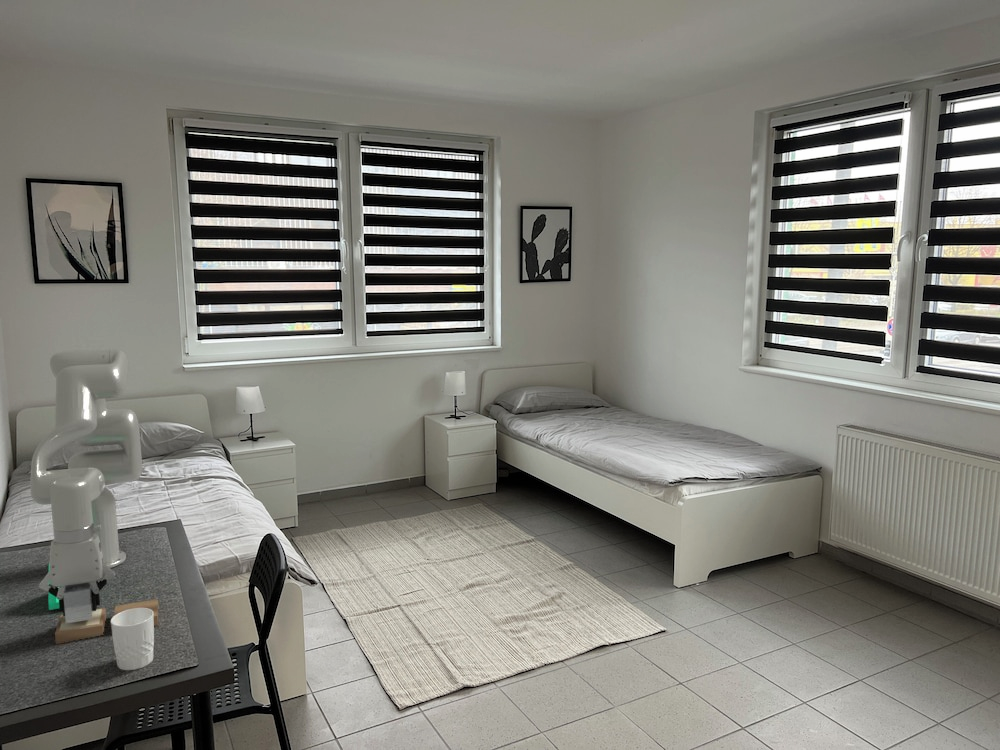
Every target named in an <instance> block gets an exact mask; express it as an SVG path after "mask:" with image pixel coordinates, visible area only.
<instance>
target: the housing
mask: <svg viewBox="0 0 1000 750" xmlns="http://www.w3.org/2000/svg"><path fill="white" fill-rule="evenodd" d="M91 595H92V588H91V585H90V584H89V583H84V584H77V585H70V586H66V587H65V589H64V592H63V597H64V608H65V619H66V623H72V622H78V621H84V620H90V619H92V617H93V613H94V611H93V609H92V597H91Z"/></svg>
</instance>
